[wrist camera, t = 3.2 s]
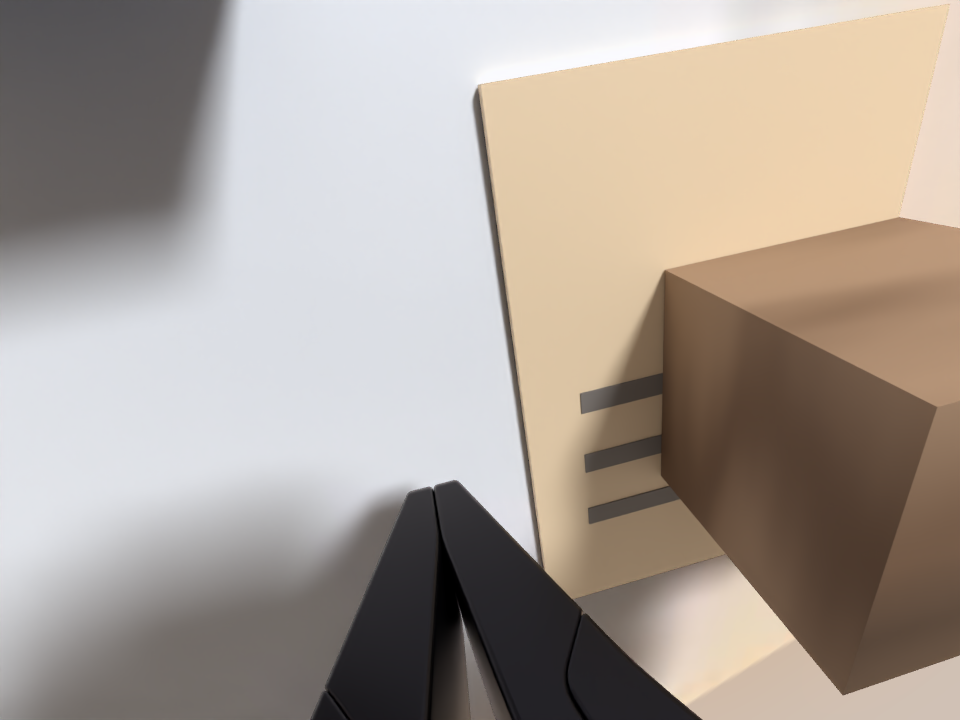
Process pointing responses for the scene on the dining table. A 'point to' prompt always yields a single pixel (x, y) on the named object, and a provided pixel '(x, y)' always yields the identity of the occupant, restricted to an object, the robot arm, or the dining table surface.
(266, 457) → the dining table surface
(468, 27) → the dining table surface
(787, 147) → the letter
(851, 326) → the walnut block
